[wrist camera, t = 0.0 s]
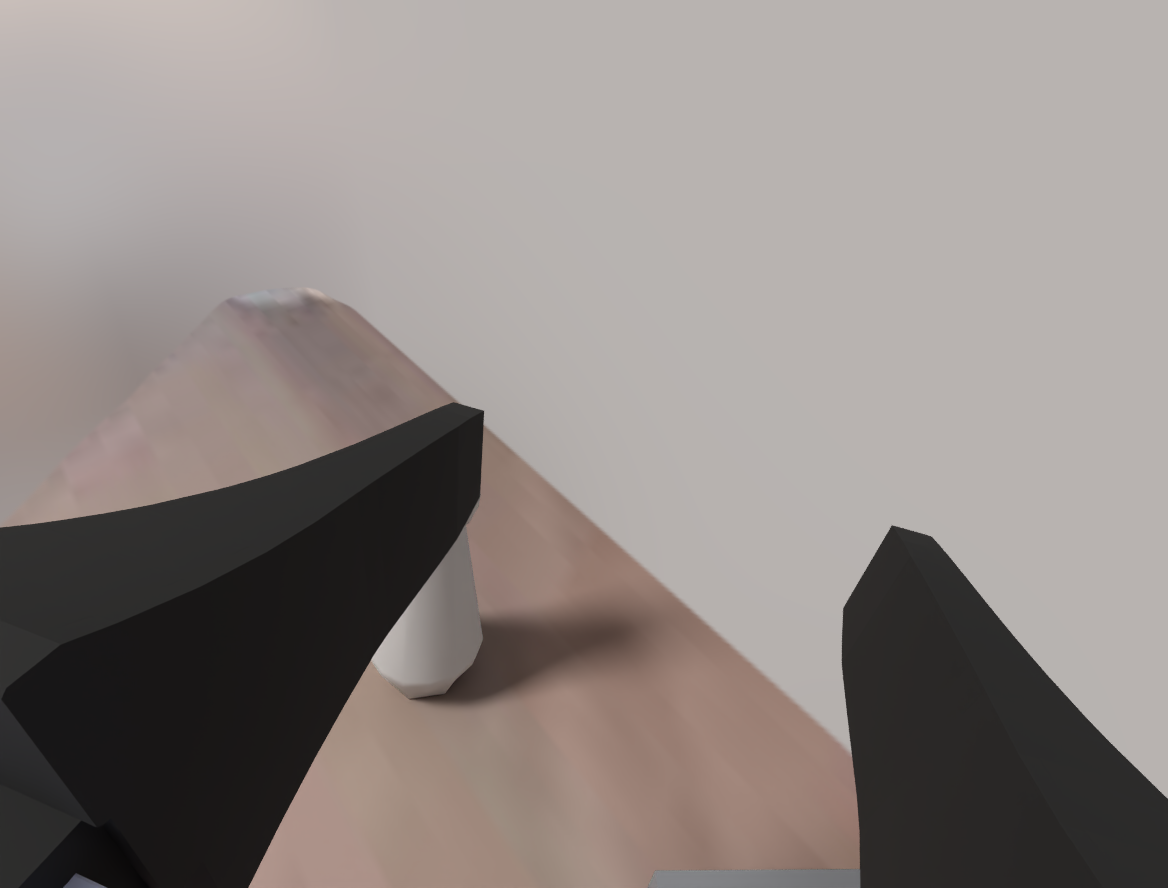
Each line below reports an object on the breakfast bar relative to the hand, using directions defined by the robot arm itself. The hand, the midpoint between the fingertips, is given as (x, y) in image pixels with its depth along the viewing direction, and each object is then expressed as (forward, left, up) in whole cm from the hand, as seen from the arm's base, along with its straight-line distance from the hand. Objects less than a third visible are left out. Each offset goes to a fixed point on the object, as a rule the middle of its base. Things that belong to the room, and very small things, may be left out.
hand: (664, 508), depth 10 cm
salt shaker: (+11, +10, -22) cm, 26 cm away
